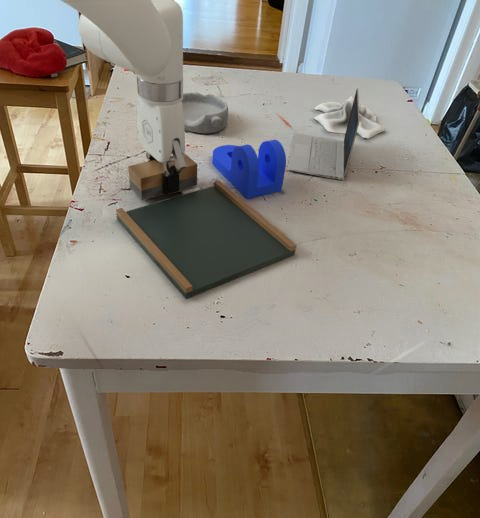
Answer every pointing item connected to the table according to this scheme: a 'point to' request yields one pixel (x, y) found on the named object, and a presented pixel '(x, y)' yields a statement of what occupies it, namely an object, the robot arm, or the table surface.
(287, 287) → the table surface
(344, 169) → the laptop
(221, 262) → the slate board
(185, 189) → the chalk stroke
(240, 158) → the bracket
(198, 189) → the off-white bar
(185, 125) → the dish
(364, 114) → the cloth
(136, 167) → the eraser
